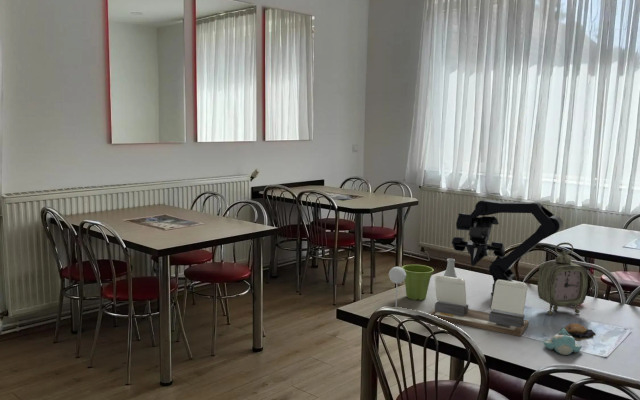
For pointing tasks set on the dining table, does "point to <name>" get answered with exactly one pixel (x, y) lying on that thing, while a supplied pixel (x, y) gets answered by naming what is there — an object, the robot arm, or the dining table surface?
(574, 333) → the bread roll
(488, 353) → the dining table surface
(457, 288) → the toggle
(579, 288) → the tabletop clock
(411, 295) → the plant pot
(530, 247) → the robot arm
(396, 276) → the lollipop
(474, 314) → the switch board
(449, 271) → the flask
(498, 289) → the toggle
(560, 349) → the stuffed animal
